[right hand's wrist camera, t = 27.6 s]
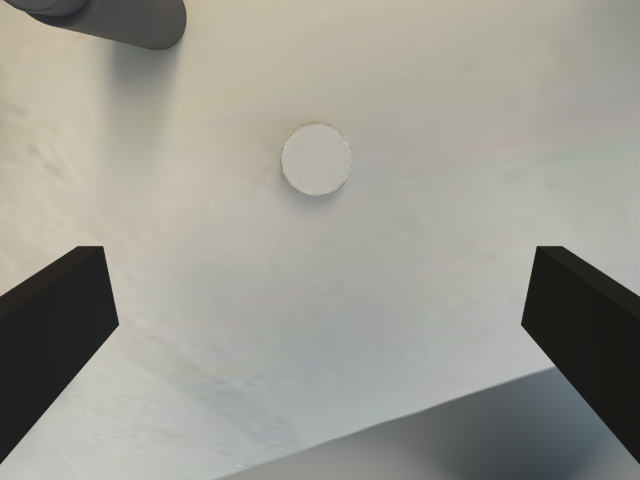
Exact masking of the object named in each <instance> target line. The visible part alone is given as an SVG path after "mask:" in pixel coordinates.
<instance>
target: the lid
mask: <svg viewBox="0 0 640 480" xmlns="http://www.w3.org/2000/svg"><path fill="white" fill-rule="evenodd" d="M281 164H282V170H283V172H284V175H285V177H286V179H287V180H288V181H289V183H290V184H291V185H292V186H293V187H294V188H296V189H297V190H299V191H300V192H303V193H305V194H308V195H325V194H328V193H331V192H333V191H335V190H336V189H338V188H339V187H340V186H341V185H342V184H343V183H344V182H345V180H346V179H347V177H348V175H349V173H350V171H351V165H352V156H351V149H350V147H349V145H348V143H347V139H346V138H344V136H343V135H342V134H341V132H340V130H339V131H338V130H337V129H335V128H334V127H332V125H331V126H330V125H328V124H324V123H322V122H321V123H313V122H311V123H309V124H306V125H301V127H299V128H298V129H296V130H294V131H293V132H292V134H291V135H290V137H289V138H287V139H286V143H285V145H284V147H283V149H282V156H281Z"/></svg>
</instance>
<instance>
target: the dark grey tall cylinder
mask: <svg viewBox="0 0 640 480" xmlns="http://www.w3.org/2000/svg"><path fill="white" fill-rule="evenodd" d="M4 1H5V2H7V3H8V4H10V5H11V6H13V7H14V8H16V9H19V10H22V11H24V12H26V13H27V14H29V15H30V16H31V17H33V18H34V19H36V20H38V21H40V22H42V23H44V24H47V25H50V26H54V27H58V28H63V29H67V30H71V31H76V32H80V33H84V34H88V35H93V36H97V37H101V38H106V39H110V40H114V41H118V42H123V43H127V44H131V45H135V46H140V47H144V48H148V49H153V50H163V49H167V48H169V47H171V46H173V45H174V44H175V43H177V42H178V40H179V39H180V38H181V36H182V34H183V32H184V29H185V25H186V11H185V6H184V3H183V1H182V0H4Z"/></svg>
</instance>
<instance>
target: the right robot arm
mask: <svg viewBox="0 0 640 480" xmlns="http://www.w3.org/2000/svg"><path fill="white" fill-rule="evenodd" d="M118 325H119V322H118V317H117V312H116V307H115V302H114V297H113V292H112V287H111V283H110V278H109V273H108V268H107V263H106V258H105V253H104V248H103V246H77V247H76V248H74V249H73V250H71V251H70V252H68V253H67V254H65V255H64V256H62V257H60V258H59V259H57V260H56V261H54V262H53V263H51V264H50V265H48V266H47V267H45V268H44V269H42V270H40V271H39V272H37V273H36V274H34V275H33V276H31V277H30V278H28V279H27V280H25V281H24V282H22V283H20V284H19V285H17V286H16V287H14V288H13V289H11V290H10V291H8V292H7V293H5V294H4V295H2V296H1V297H0V464H1V463H2V462H3V461H4V459H5V458H6V457H7V456H8V455H9V454H10V452H11V451H12V450H13V449H14V448H15V447H16V445H17V444H18V443H19V442H20V441H21V439H22V438H23V437H24V436H25V435H26V434H27V432H28V431H29V430H30V429H31V428H32V427H33V425H34V424H35V423H36V422H37V421H38V420H39V418H40V417H41V416H42V415H43V414H44V412H45V411H46V410H47V409H48V408H49V407H50V405H51V404H52V403H53V402H54V401H55V400H56V398H57V397H58V396H59V395H60V394H61V392H62V391H63V390H64V389H65V388H66V387H67V385H68V384H69V383H70V382H71V381H72V380H73V378H74V377H75V376H76V375H77V374H78V372H79V371H80V370H81V369H82V368H83V367H84V365H85V364H86V363H87V362H88V361H89V360H90V358H91V357H92V356H93V355H94V354H95V353H96V351H97V350H98V349H99V348H100V347H101V345H102V344H103V343H104V342H105V341H106V340H107V338H108V337H109V336H110V335H111V334H112V333H113V331H114V330H115V329H116V328H117V327H118ZM521 325H522V327H523V328H524V329H525V330H526V331H527V333H528V334H529V335H530V336H531V337H532V338H533V340H534V341H535V342H536V343H537V344H538V345H539V347H540V348H541V349H542V350H543V351H544V353H545V354H546V355H547V356H548V357H549V358H550V360H551V361H552V362H553V363H554V364H555V365H556V367H557V368H558V369H559V370H560V371H561V372H562V374H563V375H564V376H565V377H566V378H567V380H568V381H569V382H570V383H571V384H572V385H573V386H574V388H575V389H576V390H577V391H578V392H579V394H580V395H581V396H582V397H583V398H584V399H585V401H586V402H587V403H588V404H589V405H590V407H591V408H592V409H593V410H594V411H595V412H596V414H597V415H598V416H599V417H600V418H601V419H602V421H603V422H604V423H605V424H606V425H607V427H608V428H609V429H610V430H611V431H612V432H613V434H614V435H615V436H616V437H617V438H618V439H619V441H620V442H621V443H622V444H623V445H624V446H625V448H626V449H627V450H628V451H629V452H630V454H631V455H632V456H633V457H634V458H635V459H636V461H637V462H638V463H639V464H640V297H639V296H638V295H636V294H635V293H633V292H632V291H630V290H629V289H627V288H626V287H624V286H623V285H621V284H620V283H618V282H616V281H615V280H613V279H612V278H610V277H609V276H607V275H606V274H604V273H603V272H601V271H600V270H598V269H596V268H595V267H593V266H592V265H590V264H589V263H587V262H586V261H584V260H583V259H581V258H580V257H578V256H576V255H575V254H573V253H572V252H570V251H569V250H567V249H566V248H564V247H563V246H537V248H536V253H535V258H534V263H533V268H532V273H531V278H530V283H529V287H528V292H527V297H526V302H525V307H524V312H523V317H522V322H521Z"/></svg>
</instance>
